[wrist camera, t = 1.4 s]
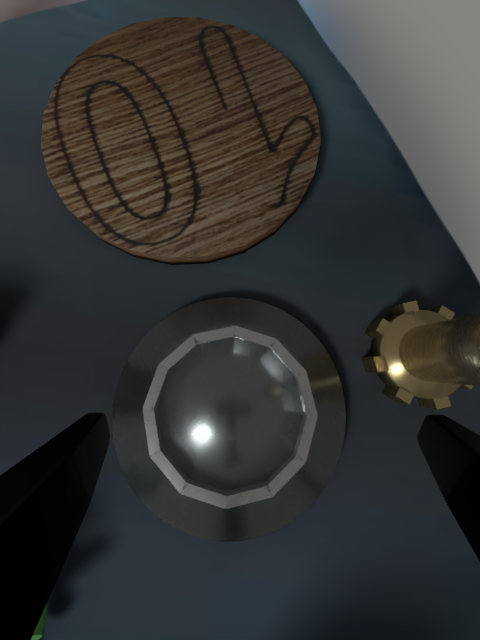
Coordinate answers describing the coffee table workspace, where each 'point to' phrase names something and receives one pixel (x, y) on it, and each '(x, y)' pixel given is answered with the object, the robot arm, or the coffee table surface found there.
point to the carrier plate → (228, 419)
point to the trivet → (181, 139)
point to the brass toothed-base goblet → (425, 354)
